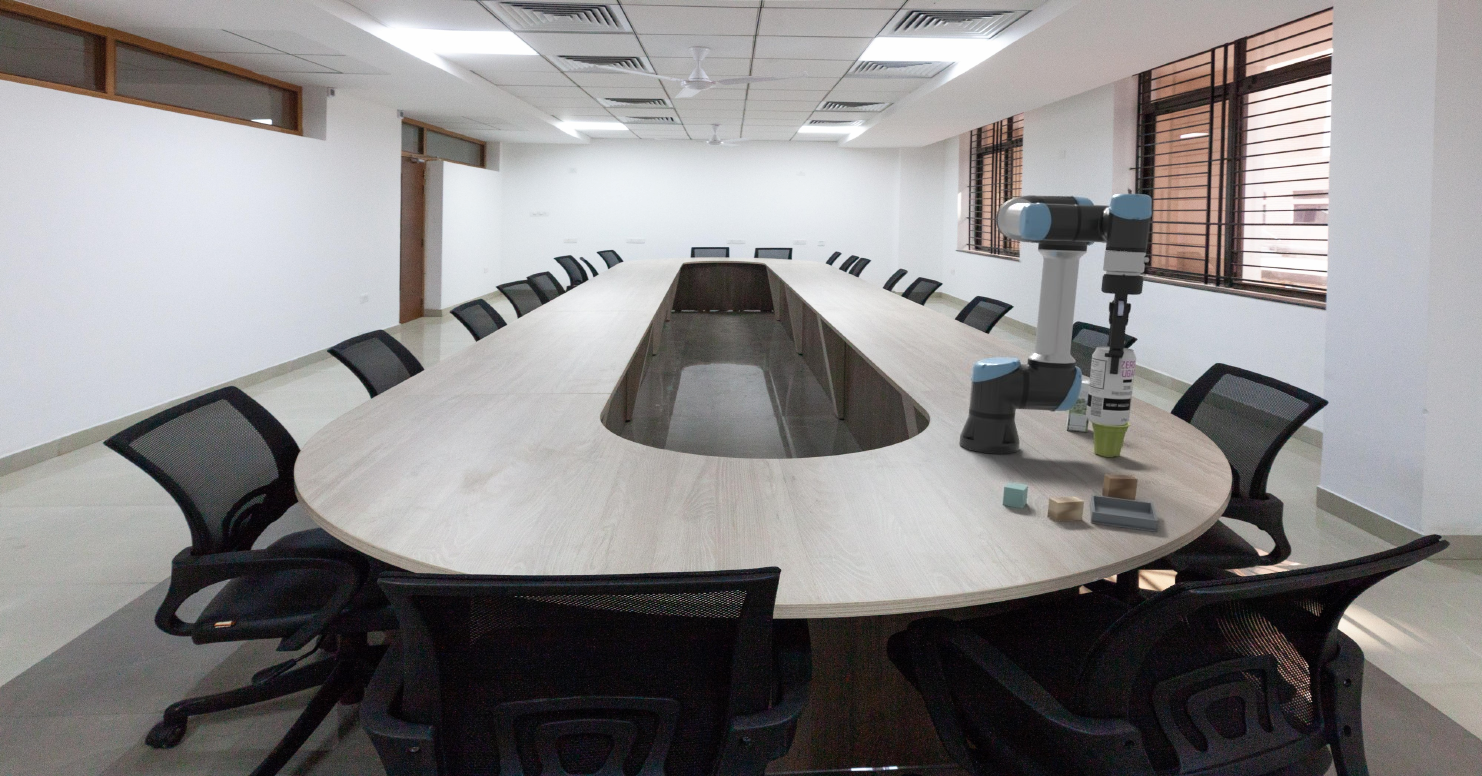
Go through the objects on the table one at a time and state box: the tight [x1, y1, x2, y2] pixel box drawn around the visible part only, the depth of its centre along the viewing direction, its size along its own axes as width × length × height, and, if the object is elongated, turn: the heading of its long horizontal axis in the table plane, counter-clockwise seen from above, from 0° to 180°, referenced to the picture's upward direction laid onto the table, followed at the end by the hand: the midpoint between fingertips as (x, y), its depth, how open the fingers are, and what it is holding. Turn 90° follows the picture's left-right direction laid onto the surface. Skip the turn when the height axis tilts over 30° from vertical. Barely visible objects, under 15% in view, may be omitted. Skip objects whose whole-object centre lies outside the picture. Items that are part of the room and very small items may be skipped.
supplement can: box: [1086, 345, 1137, 425], centre depth 182 cm, size 8×8×15 cm
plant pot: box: [1091, 421, 1131, 458], centre depth 232 cm, size 9×9×9 cm
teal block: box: [1002, 481, 1029, 509], centre depth 190 cm, size 4×4×4 cm
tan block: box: [1047, 496, 1085, 522], centre depth 182 cm, size 6×3×4 cm, turn 105°
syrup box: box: [1066, 378, 1090, 433], centre depth 258 cm, size 6×6×14 cm
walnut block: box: [1101, 473, 1139, 500], centre depth 196 cm, size 6×3×5 cm, turn 91°
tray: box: [1089, 494, 1159, 533], centre depth 183 cm, size 12×12×2 cm
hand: (1111, 386), depth 182 cm, fingers closed on supplement can, 8 cm apart
